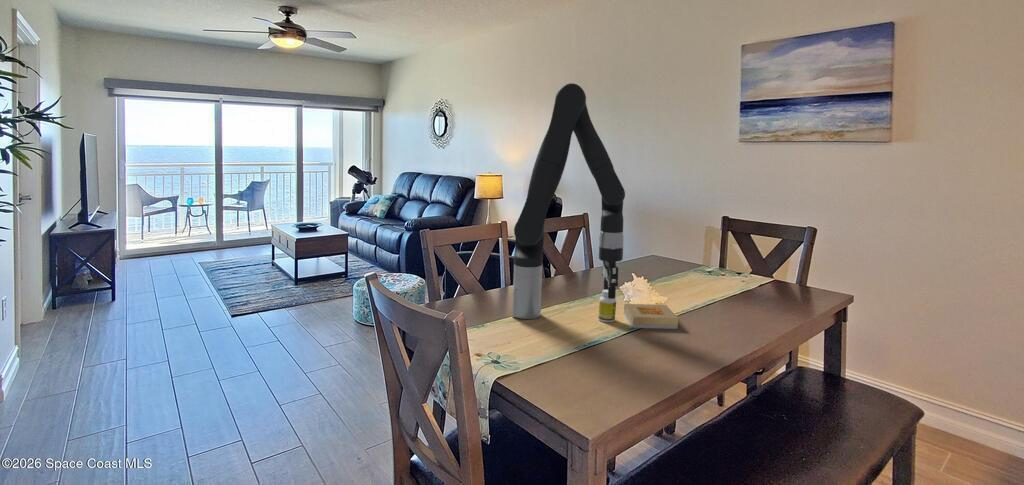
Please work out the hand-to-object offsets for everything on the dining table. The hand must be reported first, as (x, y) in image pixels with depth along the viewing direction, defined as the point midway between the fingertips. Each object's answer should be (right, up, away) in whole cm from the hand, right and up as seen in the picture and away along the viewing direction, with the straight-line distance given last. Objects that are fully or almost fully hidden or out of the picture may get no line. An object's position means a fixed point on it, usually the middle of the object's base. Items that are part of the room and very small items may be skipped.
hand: (609, 294), depth 176 cm
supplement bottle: (-1, -9, +2) cm, 9 cm away
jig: (+13, -9, +2) cm, 16 cm away
